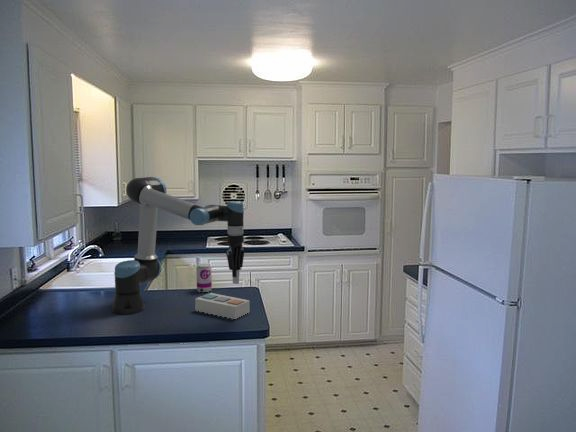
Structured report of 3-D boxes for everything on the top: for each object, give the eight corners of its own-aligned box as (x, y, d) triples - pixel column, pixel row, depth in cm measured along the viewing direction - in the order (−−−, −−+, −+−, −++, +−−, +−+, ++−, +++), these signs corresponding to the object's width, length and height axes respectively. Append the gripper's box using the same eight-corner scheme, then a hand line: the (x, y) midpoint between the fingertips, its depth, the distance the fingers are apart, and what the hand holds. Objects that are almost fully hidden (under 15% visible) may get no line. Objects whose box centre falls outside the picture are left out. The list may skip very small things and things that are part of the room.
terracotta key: (236, 312, 228) (236, 303, 227) (227, 310, 230) (227, 302, 230) (243, 309, 232) (243, 301, 232) (234, 307, 235) (234, 299, 235)
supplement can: (212, 292, 268) (212, 266, 266) (197, 293, 266) (197, 267, 264) (210, 288, 276) (210, 263, 274) (196, 289, 274) (195, 263, 272)
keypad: (234, 319, 225) (234, 307, 224) (195, 310, 237) (195, 298, 236) (249, 312, 235) (249, 300, 234) (211, 304, 247) (211, 292, 246)
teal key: (210, 306, 236) (210, 298, 235) (201, 304, 238) (201, 296, 238) (217, 303, 240) (217, 295, 240) (208, 301, 243) (208, 293, 243)
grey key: (223, 309, 232) (223, 301, 231) (214, 307, 234) (214, 299, 234) (230, 306, 236) (230, 298, 236) (221, 304, 239) (221, 296, 239)
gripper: (233, 237, 219) (234, 287, 222) (250, 233, 230) (250, 281, 233) (220, 235, 223) (221, 285, 226) (237, 231, 234) (237, 279, 237)
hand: (235, 283), depth 230 cm, fingers closed
